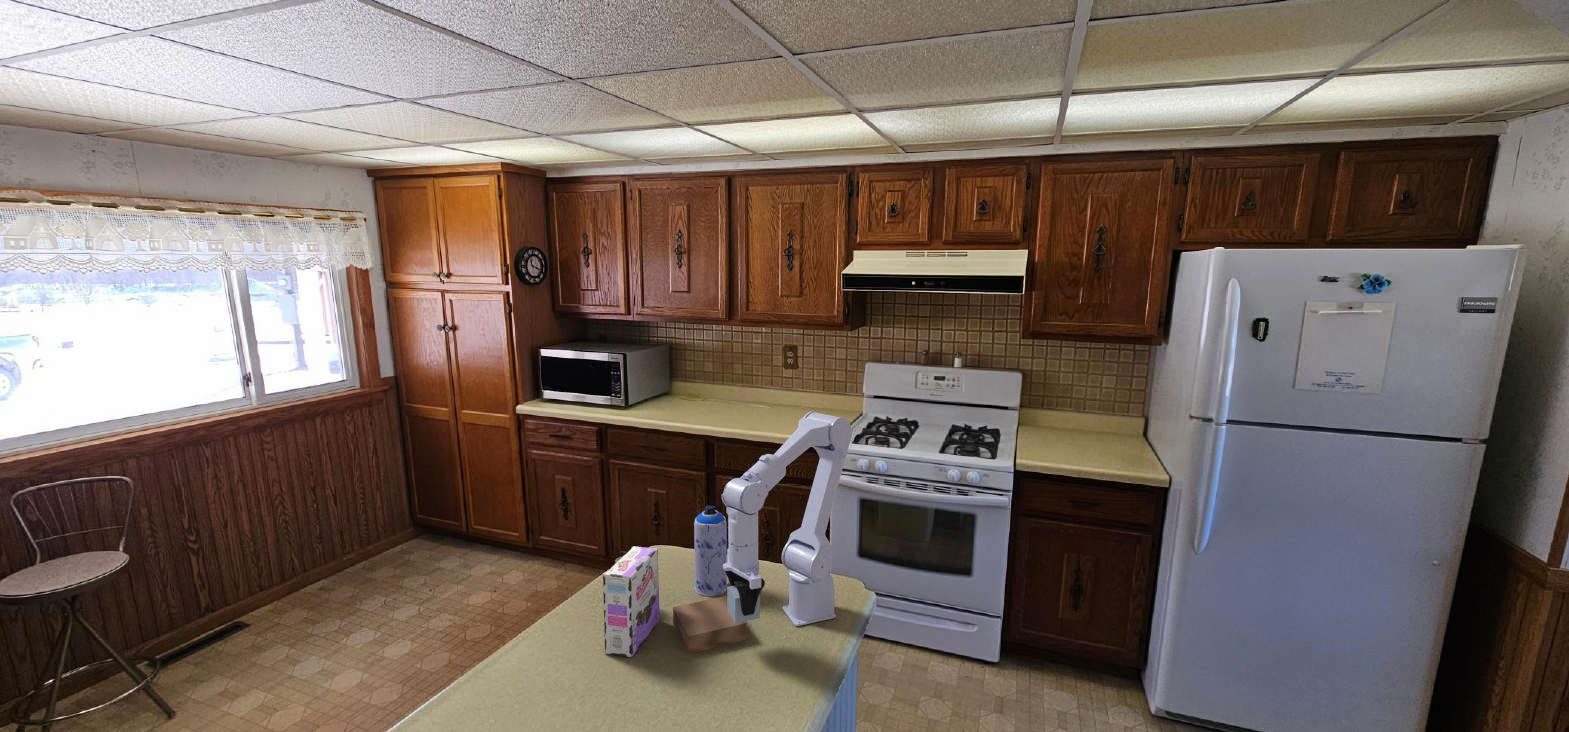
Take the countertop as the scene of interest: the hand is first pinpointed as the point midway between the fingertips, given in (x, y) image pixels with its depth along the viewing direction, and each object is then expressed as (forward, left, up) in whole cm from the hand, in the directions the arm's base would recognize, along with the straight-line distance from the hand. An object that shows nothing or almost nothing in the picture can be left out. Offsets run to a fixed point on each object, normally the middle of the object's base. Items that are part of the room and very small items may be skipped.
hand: (743, 607), depth 120 cm
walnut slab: (+5, -8, -9) cm, 13 cm away
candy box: (+20, -12, -9) cm, 24 cm away
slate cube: (0, 0, -2) cm, 2 cm away
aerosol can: (0, -26, -9) cm, 27 cm away
